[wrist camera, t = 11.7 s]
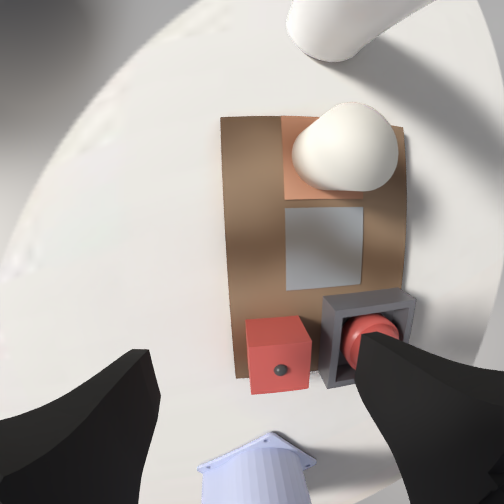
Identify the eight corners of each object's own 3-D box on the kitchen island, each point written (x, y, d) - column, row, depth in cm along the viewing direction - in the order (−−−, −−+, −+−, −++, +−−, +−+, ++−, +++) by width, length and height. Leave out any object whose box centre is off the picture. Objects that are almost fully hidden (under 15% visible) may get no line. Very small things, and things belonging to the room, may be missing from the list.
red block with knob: (296, 358, 19) (309, 392, 15) (247, 363, 18) (251, 398, 15) (298, 315, 18) (313, 344, 14) (245, 319, 18) (249, 350, 14)
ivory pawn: (316, 203, 16) (350, 209, 11) (278, 146, 15) (298, 128, 11) (366, 168, 16) (411, 163, 11) (331, 113, 15) (366, 88, 10)
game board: (385, 351, 20) (390, 357, 19) (235, 371, 19) (235, 379, 18) (397, 129, 16) (403, 127, 16) (220, 120, 16) (220, 117, 15)
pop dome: (382, 353, 18) (404, 378, 15) (335, 362, 18) (352, 391, 15) (390, 306, 17) (417, 327, 14) (340, 313, 17) (361, 338, 14)
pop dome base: (386, 356, 19) (400, 372, 17) (317, 369, 19) (327, 389, 17) (397, 287, 18) (416, 299, 16) (322, 295, 18) (335, 310, 15)
